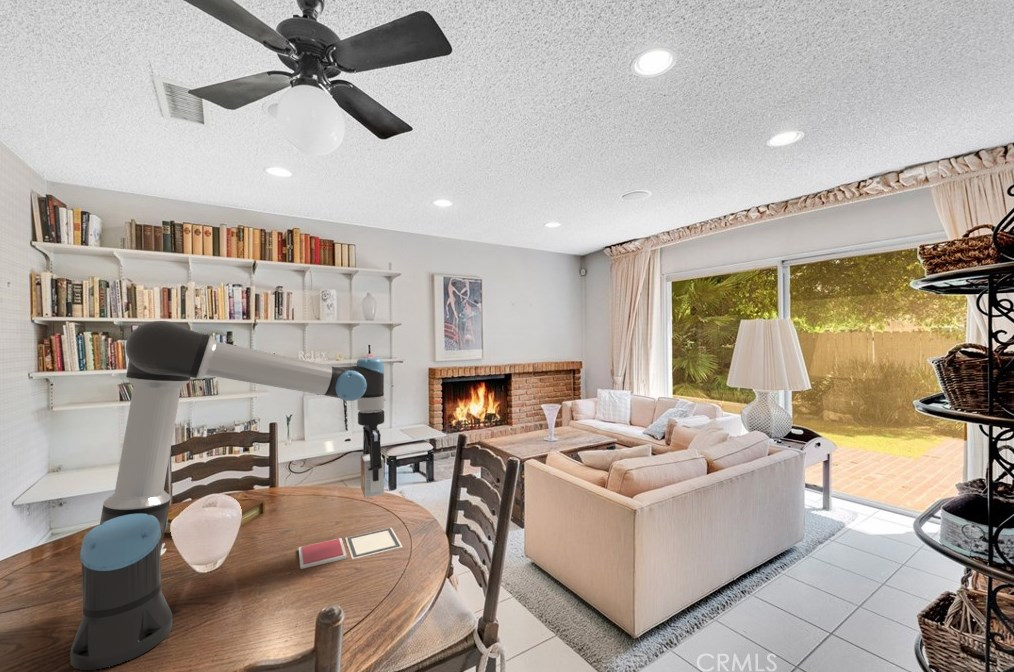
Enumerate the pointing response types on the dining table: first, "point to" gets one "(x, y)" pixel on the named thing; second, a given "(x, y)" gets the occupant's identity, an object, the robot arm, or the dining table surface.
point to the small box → (366, 476)
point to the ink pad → (322, 553)
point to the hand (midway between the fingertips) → (372, 486)
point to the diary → (248, 506)
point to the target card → (372, 543)
